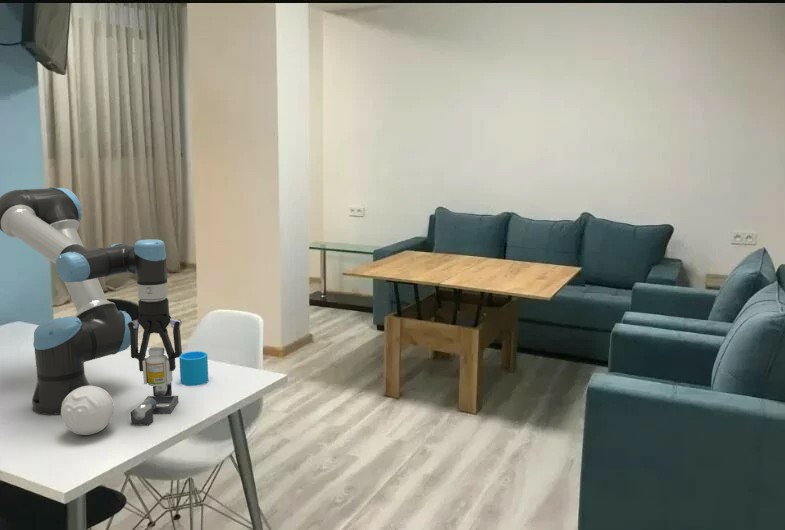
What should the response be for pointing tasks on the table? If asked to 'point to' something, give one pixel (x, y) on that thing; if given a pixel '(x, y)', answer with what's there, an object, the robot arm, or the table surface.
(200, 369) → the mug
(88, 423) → the decorative ball
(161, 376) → the supplement bottle
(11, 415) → the table surface
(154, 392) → the shaft
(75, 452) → the table surface
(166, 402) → the collar
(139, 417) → the shaft
